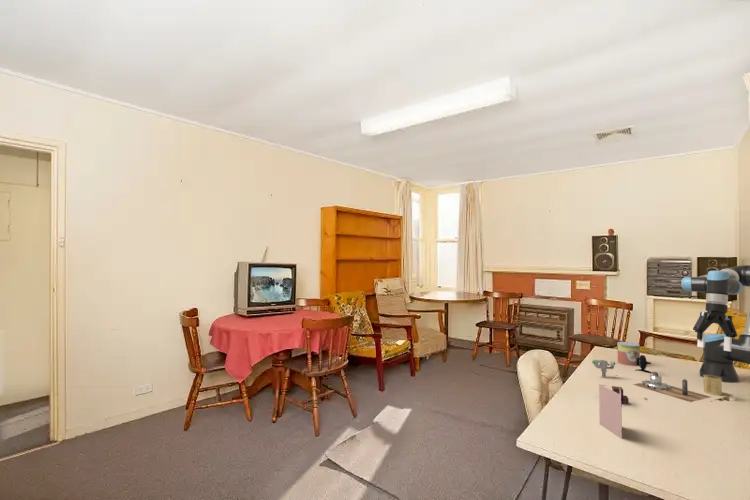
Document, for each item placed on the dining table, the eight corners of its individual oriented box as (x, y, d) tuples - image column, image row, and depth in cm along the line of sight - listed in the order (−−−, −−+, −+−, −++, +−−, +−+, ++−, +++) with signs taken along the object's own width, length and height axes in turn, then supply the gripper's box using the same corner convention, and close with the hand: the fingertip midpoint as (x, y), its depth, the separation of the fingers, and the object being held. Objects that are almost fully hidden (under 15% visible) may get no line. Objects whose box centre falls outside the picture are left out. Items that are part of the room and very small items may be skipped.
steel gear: (650, 381, 183) (650, 371, 183) (675, 388, 172) (675, 377, 173) (636, 384, 178) (636, 373, 179) (661, 391, 168) (661, 380, 168)
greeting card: (624, 439, 125) (624, 395, 125) (599, 434, 129) (598, 391, 129) (623, 427, 135) (622, 386, 135) (599, 422, 139) (599, 382, 139)
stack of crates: (633, 399, 164) (633, 384, 164) (641, 411, 150) (641, 395, 150) (594, 394, 170) (594, 379, 170) (599, 405, 157) (599, 389, 157)
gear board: (652, 383, 184) (652, 366, 184) (711, 400, 162) (711, 381, 162) (632, 387, 178) (632, 370, 178) (690, 405, 156) (690, 385, 156)
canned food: (623, 365, 217) (622, 345, 217) (614, 360, 228) (613, 341, 228) (644, 366, 215) (643, 346, 215) (633, 361, 226) (633, 342, 226)
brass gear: (704, 390, 174) (704, 371, 174) (734, 398, 164) (734, 378, 164) (691, 393, 170) (691, 374, 170) (721, 402, 159) (720, 381, 160)
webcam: (634, 370, 207) (634, 352, 207) (651, 372, 202) (650, 354, 203) (634, 373, 200) (634, 355, 201) (651, 376, 196) (651, 357, 196)
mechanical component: (616, 381, 187) (615, 362, 187) (594, 380, 189) (594, 360, 189) (613, 379, 189) (613, 360, 190) (592, 378, 192) (591, 359, 192)
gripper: (700, 300, 166) (697, 346, 164) (749, 307, 168) (747, 354, 166) (684, 299, 174) (682, 344, 172) (732, 306, 176) (729, 351, 174)
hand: (714, 349), depth 169 cm, fingers open, 13 cm apart
